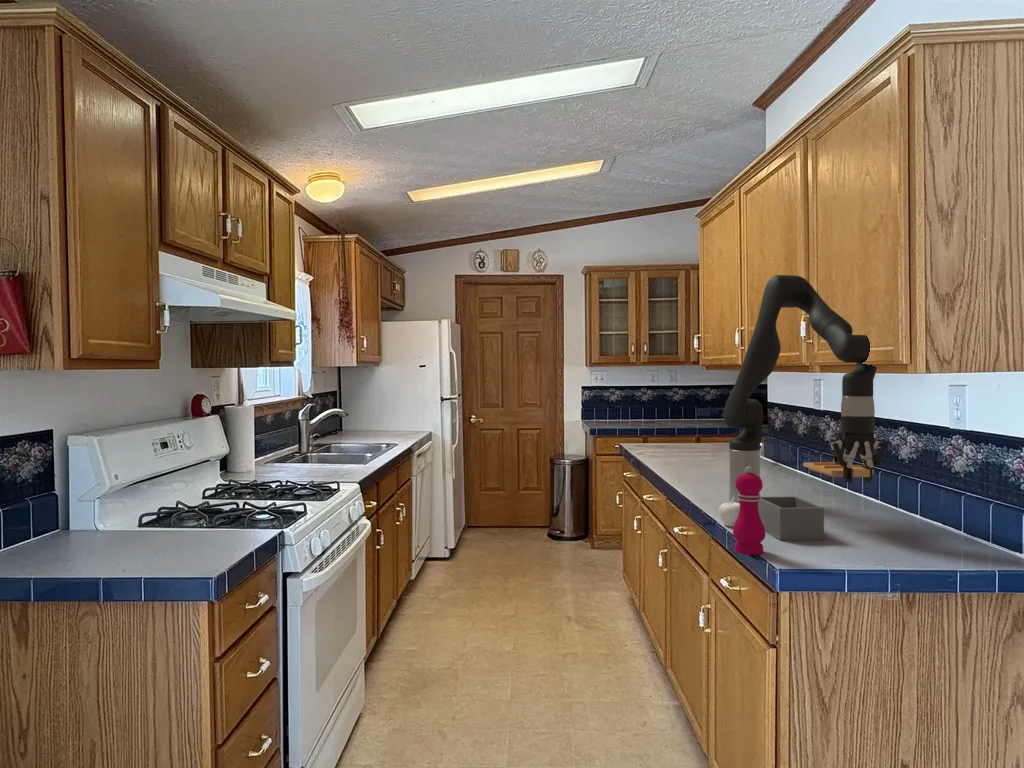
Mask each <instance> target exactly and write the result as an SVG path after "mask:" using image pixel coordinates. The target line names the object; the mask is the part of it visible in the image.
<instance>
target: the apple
mask: <svg viewBox="0 0 1024 768" xmlns="http://www.w3.org/2000/svg"><path fill="white" fill-rule="evenodd" d="M733 500H734V497H733V498H732V501H731V502H724V503H722V504H720V506H719V508H718V514H719V517H720V520H721V522H722V523H723V525H724V526H726V527H729V528H733V527H734V524H735V521H736V519H737V517H738V514H739V509H740V503H735V502H733Z"/></svg>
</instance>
